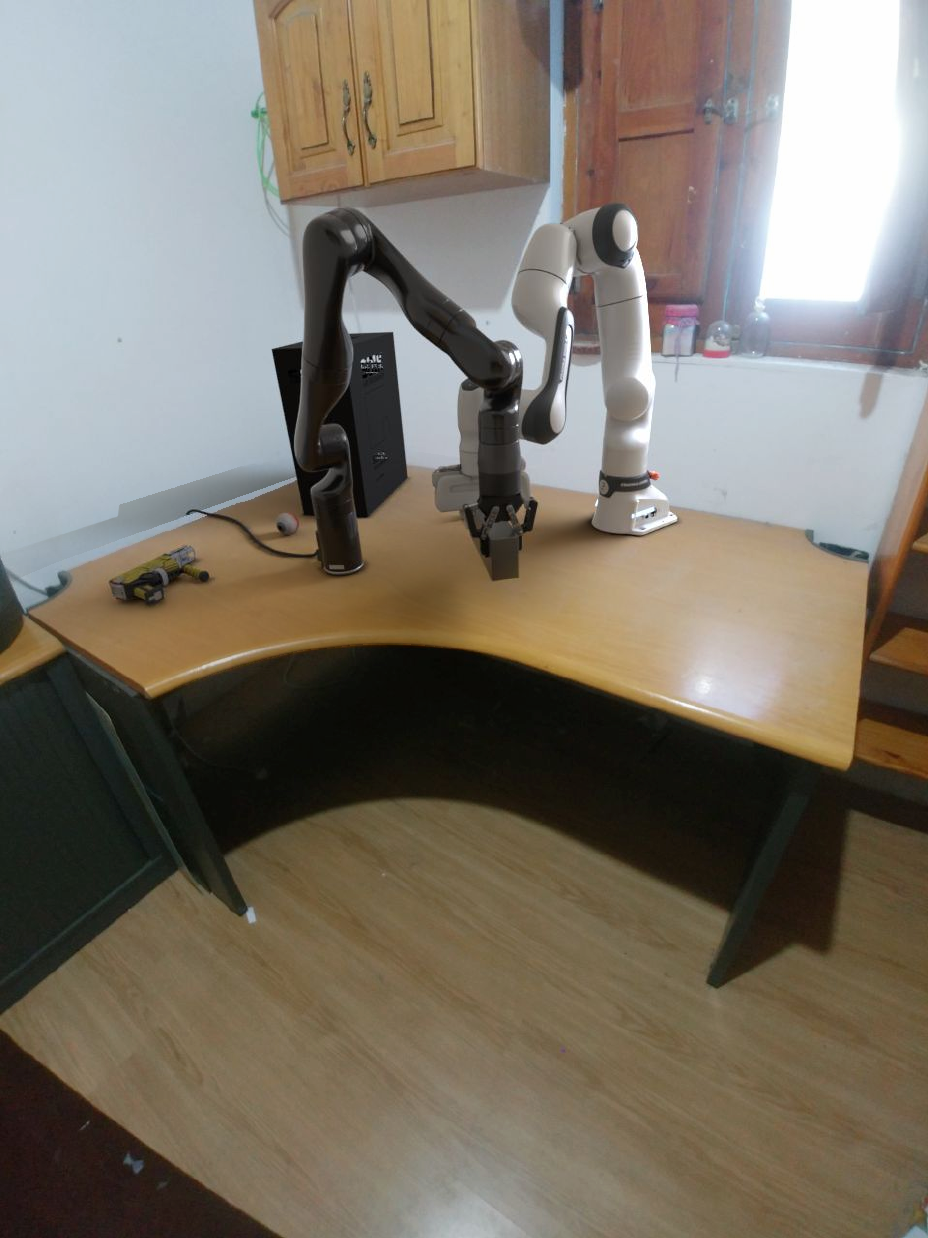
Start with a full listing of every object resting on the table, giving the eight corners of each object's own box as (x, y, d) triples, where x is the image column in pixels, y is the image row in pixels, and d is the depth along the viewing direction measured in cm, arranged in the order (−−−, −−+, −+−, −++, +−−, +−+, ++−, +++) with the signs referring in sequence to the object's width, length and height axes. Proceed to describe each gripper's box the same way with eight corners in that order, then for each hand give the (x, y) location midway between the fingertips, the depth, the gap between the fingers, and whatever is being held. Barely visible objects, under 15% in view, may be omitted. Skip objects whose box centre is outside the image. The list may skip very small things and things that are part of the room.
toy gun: (232, 553, 147) (182, 542, 151) (158, 593, 127) (102, 580, 131) (234, 570, 150) (185, 559, 154) (162, 613, 130) (107, 599, 134)
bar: (469, 535, 133) (468, 498, 129) (492, 532, 134) (491, 496, 130) (492, 581, 113) (490, 539, 109) (519, 578, 114) (518, 536, 110)
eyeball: (273, 537, 164) (268, 516, 161) (287, 528, 169) (282, 508, 166) (291, 539, 161) (286, 518, 158) (305, 530, 166) (301, 510, 163)
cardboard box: (367, 516, 174) (344, 346, 151) (303, 514, 178) (271, 348, 156) (407, 477, 205) (393, 331, 183) (352, 476, 210) (331, 334, 187)
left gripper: (462, 475, 102) (467, 566, 110) (544, 467, 104) (543, 557, 112) (455, 464, 108) (460, 551, 117) (533, 456, 110) (532, 542, 119)
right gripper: (433, 471, 118) (438, 537, 125) (533, 460, 121) (533, 525, 128) (428, 463, 124) (434, 526, 130) (525, 453, 126) (525, 515, 133)
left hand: (501, 553), depth 115 cm, fingers closed on bar, 5 cm apart
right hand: (484, 526), depth 129 cm, fingers closed on bar, 5 cm apart
